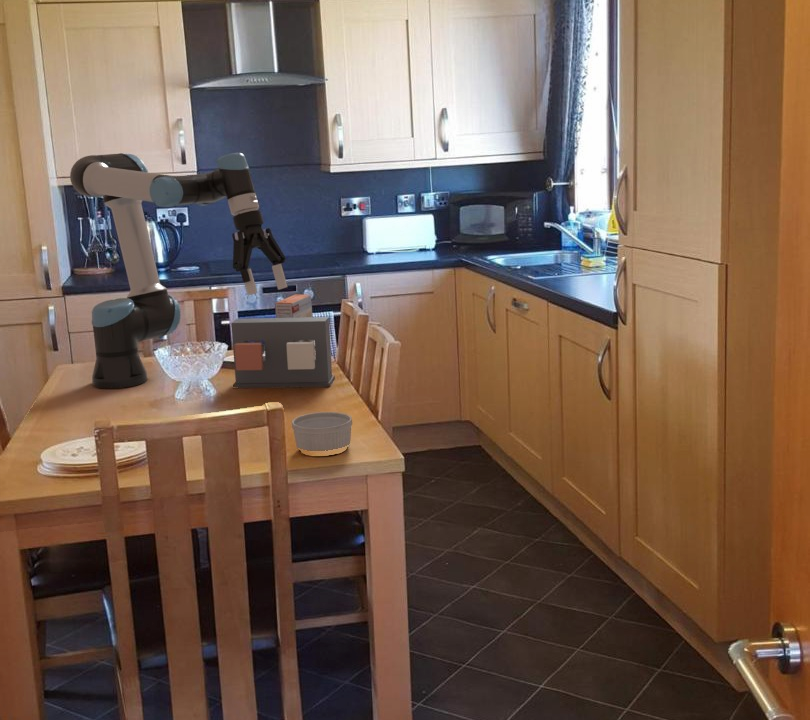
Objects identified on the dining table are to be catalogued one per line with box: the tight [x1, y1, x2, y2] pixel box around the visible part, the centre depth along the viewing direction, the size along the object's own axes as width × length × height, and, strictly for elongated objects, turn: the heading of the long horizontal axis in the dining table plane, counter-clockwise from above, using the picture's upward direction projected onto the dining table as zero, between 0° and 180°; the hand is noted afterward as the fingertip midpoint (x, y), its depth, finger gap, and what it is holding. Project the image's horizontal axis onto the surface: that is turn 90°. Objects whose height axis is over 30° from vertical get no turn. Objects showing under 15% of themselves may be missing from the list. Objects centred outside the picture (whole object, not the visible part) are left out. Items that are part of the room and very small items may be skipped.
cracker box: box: [274, 293, 316, 355], centre depth 295 cm, size 14×6×21 cm, turn 162°
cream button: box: [286, 340, 316, 370], centre depth 272 cm, size 10×7×7 cm, turn 175°
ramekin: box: [291, 411, 353, 451], centre depth 220 cm, size 13×13×7 cm
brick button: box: [234, 341, 265, 370], centre depth 273 cm, size 10×7×7 cm, turn 175°
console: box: [230, 316, 336, 389], centre depth 278 cm, size 9×27×18 cm, turn 85°
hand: (268, 291), depth 264 cm, fingers open, 13 cm apart
